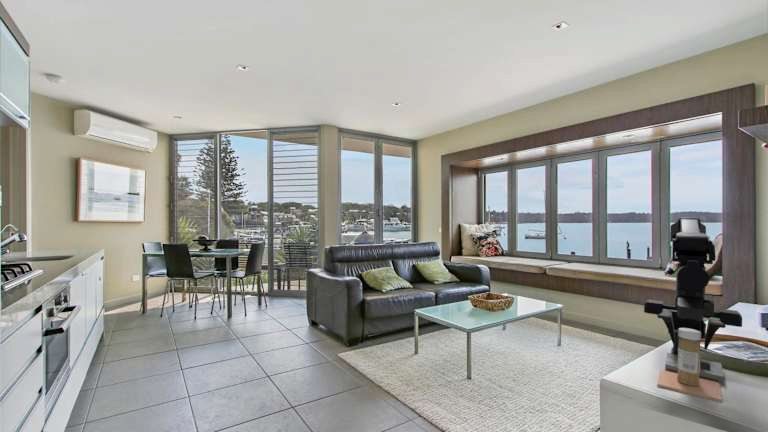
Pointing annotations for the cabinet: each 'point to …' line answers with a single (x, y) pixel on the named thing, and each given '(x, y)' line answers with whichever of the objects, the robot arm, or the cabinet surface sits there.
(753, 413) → the cabinet surface
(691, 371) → the sprinkles bottle
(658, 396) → the cabinet surface
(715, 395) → the terracotta tile
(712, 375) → the collar stand
